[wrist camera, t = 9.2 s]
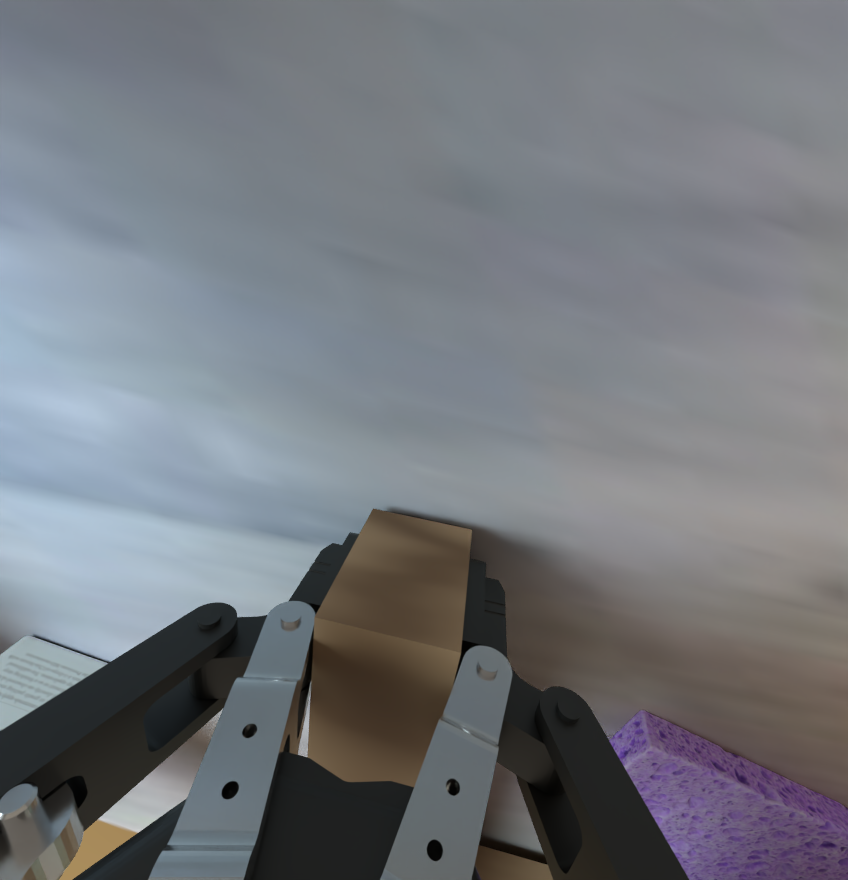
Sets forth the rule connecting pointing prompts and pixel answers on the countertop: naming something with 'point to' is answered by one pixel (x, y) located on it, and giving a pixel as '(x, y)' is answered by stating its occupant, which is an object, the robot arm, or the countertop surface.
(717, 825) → the sponges
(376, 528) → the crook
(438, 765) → the robot arm
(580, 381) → the countertop surface
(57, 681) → the skincare box
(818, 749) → the countertop surface
